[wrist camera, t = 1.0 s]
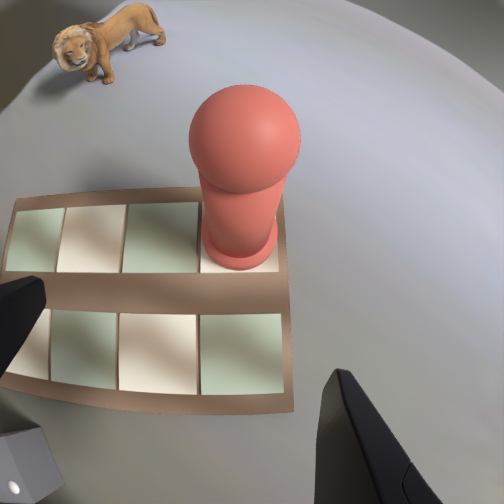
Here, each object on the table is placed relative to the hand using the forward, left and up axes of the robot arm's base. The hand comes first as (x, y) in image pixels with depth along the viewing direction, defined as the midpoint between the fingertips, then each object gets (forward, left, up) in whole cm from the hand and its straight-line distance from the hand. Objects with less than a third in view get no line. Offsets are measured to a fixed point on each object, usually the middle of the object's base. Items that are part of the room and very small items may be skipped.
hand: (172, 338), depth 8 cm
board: (+4, +6, -13) cm, 15 cm away
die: (-10, +15, -13) cm, 23 cm away
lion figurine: (+29, +11, -14) cm, 34 cm away
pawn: (+8, -2, -12) cm, 14 cm away
